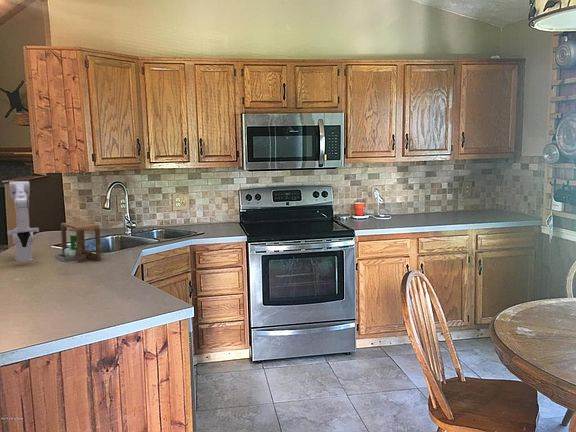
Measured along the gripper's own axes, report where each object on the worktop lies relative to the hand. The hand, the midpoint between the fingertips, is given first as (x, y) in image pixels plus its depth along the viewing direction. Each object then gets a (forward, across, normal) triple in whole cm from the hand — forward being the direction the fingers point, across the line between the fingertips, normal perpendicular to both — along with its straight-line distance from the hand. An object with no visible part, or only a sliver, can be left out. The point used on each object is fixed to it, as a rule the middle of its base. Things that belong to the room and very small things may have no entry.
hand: (24, 246), depth 262 cm
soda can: (+10, +34, +16) cm, 39 cm away
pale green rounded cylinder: (+9, +23, +2) cm, 25 cm away
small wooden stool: (+10, +28, -3) cm, 30 cm away
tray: (+10, +23, -1) cm, 25 cm away
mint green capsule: (+9, +23, -4) cm, 25 cm away
